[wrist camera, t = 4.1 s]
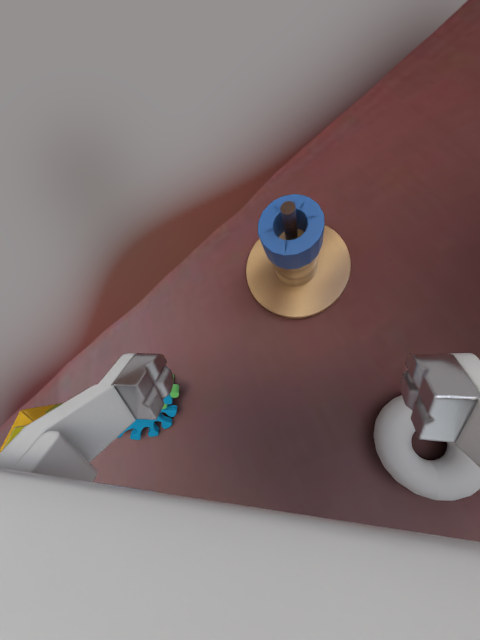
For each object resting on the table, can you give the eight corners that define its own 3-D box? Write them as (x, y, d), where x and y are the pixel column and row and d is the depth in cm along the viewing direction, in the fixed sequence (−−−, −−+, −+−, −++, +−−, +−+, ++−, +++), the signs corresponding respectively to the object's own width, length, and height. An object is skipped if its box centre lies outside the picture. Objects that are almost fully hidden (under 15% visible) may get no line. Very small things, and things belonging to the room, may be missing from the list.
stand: (361, 233, 32) (398, 140, 19) (333, 331, 31) (351, 305, 18) (264, 217, 36) (238, 130, 23) (235, 304, 35) (190, 266, 22)
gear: (119, 453, 34) (69, 405, 29) (129, 416, 39) (88, 371, 34) (197, 424, 33) (159, 370, 28) (197, 391, 38) (165, 341, 33)
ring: (321, 212, 26) (322, 189, 22) (323, 266, 25) (325, 251, 21) (264, 219, 27) (257, 199, 24) (264, 271, 26) (257, 258, 23)
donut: (453, 380, 27) (357, 400, 29) (474, 382, 24) (364, 404, 26) (496, 482, 25) (389, 497, 27) (526, 500, 22) (401, 516, 23)
